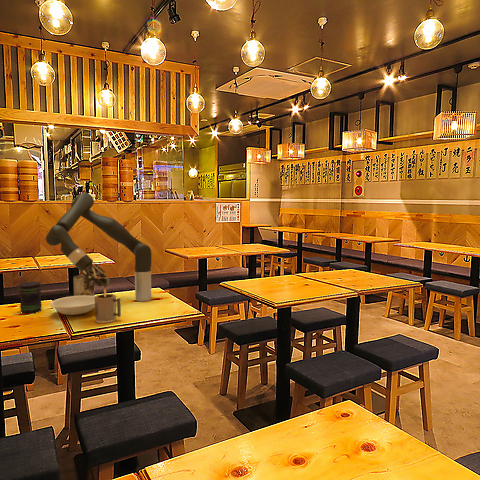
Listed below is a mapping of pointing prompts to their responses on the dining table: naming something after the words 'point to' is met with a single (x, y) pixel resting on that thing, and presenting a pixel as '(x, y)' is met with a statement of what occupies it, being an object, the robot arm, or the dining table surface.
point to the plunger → (105, 283)
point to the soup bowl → (74, 304)
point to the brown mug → (107, 308)
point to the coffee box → (83, 286)
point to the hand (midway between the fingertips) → (104, 283)
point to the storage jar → (30, 297)
